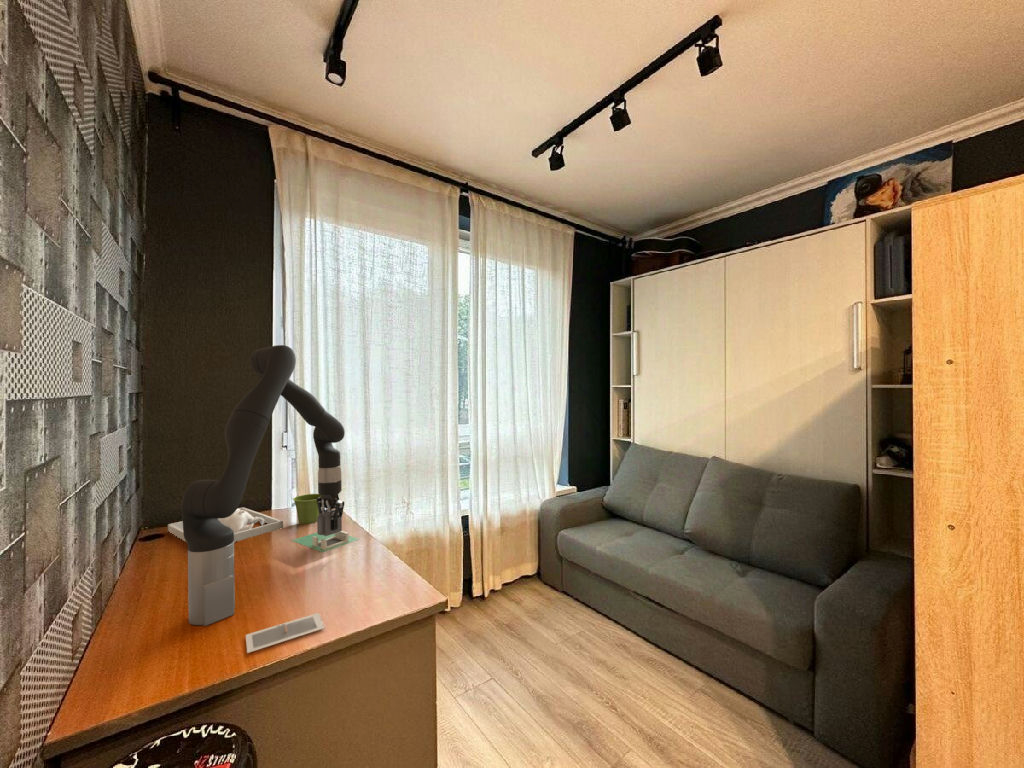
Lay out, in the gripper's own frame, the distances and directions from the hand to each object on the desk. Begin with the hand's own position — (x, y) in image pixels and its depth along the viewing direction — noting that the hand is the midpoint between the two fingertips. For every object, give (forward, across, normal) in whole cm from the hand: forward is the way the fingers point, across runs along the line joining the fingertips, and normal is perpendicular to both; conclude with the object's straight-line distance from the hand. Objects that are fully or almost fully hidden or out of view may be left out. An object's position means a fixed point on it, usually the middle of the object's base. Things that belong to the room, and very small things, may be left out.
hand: (330, 528), depth 143 cm
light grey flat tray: (+7, -53, -12) cm, 55 cm away
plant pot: (+7, -31, +10) cm, 33 cm away
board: (+7, -5, +1) cm, 8 cm away
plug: (+1, 0, 0) cm, 1 cm away
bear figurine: (+7, -46, -13) cm, 48 cm away
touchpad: (+7, +38, -34) cm, 52 cm away
